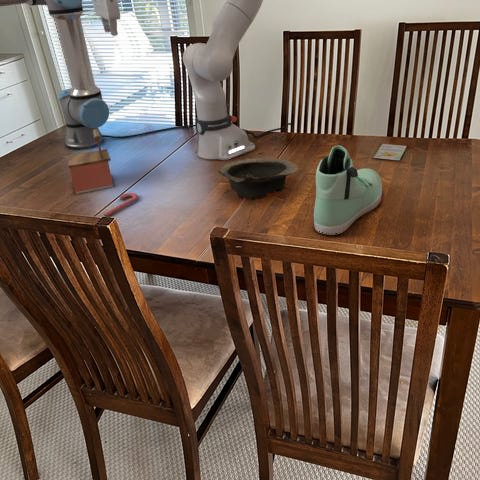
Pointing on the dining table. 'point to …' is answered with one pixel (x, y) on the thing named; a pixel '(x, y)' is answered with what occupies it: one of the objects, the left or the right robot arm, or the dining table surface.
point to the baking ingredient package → (390, 152)
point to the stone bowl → (257, 176)
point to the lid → (89, 155)
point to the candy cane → (122, 203)
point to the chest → (91, 177)
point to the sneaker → (343, 192)
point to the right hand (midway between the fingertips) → (111, 33)
